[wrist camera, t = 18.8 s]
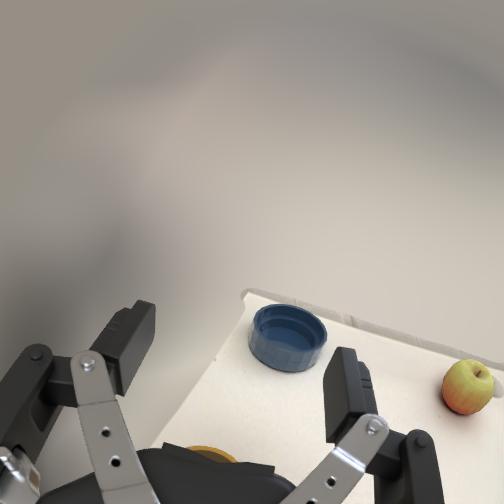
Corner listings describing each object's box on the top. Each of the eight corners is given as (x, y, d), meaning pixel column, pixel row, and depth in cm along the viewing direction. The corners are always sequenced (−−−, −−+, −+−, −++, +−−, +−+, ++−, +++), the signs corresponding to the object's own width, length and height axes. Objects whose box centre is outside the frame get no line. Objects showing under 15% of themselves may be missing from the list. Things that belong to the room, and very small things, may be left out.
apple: (434, 415, 38) (462, 381, 35) (433, 376, 47) (455, 343, 43) (478, 427, 35) (507, 394, 32) (473, 389, 44) (496, 357, 40)
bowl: (250, 371, 43) (256, 349, 41) (246, 321, 53) (251, 300, 51) (324, 375, 44) (335, 354, 42) (310, 328, 55) (317, 307, 53)
